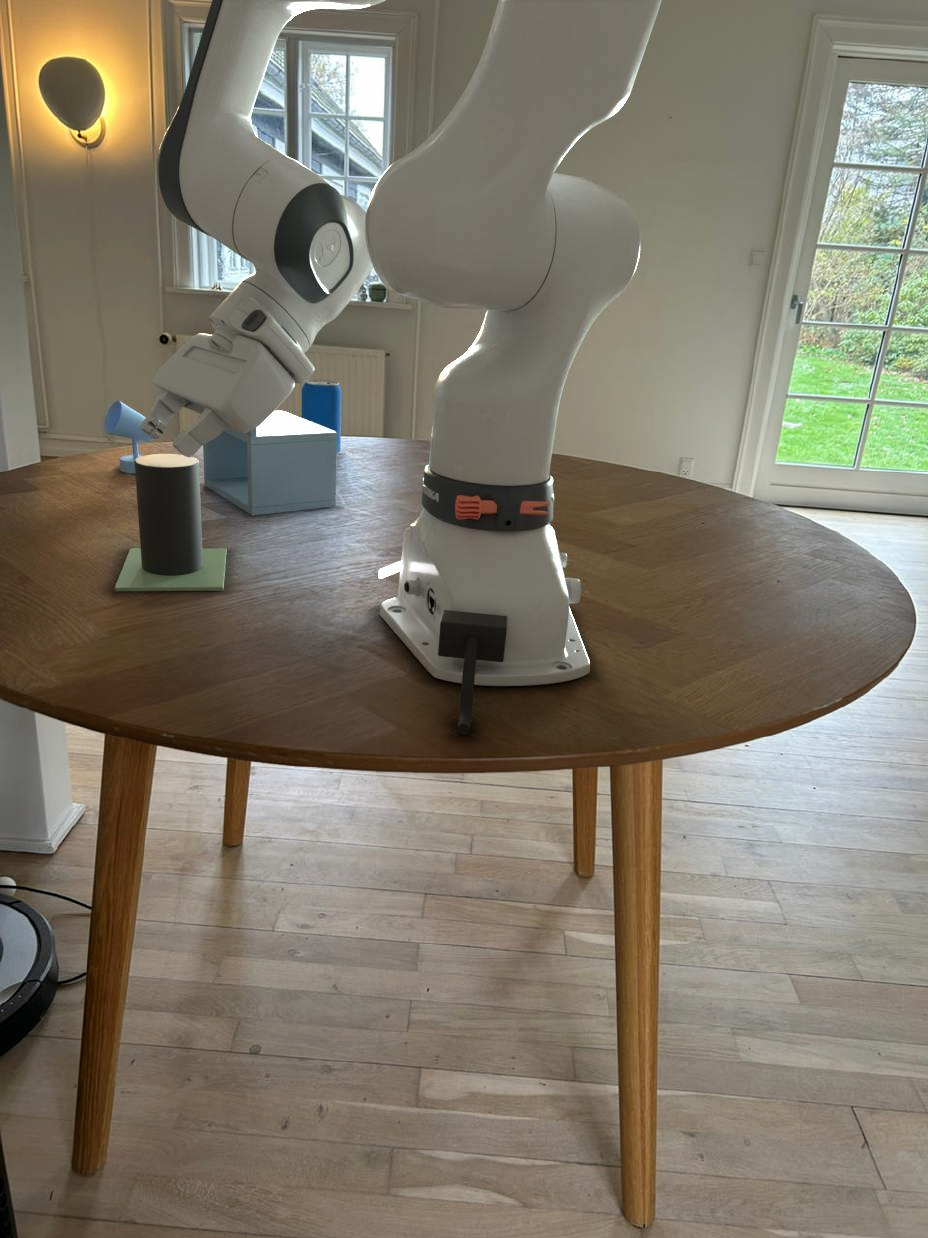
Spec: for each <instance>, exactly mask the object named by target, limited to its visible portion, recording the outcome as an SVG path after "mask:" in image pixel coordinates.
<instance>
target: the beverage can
mask: <svg viewBox="0 0 928 1238" xmlns="http://www.w3.org/2000/svg"><path fill="white" fill-rule="evenodd" d="M342 391H343V390H342V388H341V387H340V382H339V381H337V380H331V379H323V378H314V379H313V378H308V379H307V380H306V381H305V382H304V383H303V385H302V387H301V413H300V415H301V417H300V418H302V419H305V420H307V421H310V422H312V423H315V424H317V425H320V426H322V427H325V428H328V429H330V430H333V431H335V432H337V454H339V453H340V452H341V441H342V439H341V438H342V437H341V436H342V435H341V434H342V396H343V395H342V393H343V392H342Z"/></svg>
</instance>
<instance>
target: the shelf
mask: <svg viewBox="0 0 928 1238" xmlns="http://www.w3.org/2000/svg"><path fill="white" fill-rule="evenodd" d="M202 452H203V481H204V482H203V483H204V486H205V488H208V489H209V490H211V491H213V492H214V493H216V494H217V495H219V496H220V497H221V498H223V499H225V500H227V501H228V502H229V503H232V504H233V505H235V506H236V507H238V508H239V509H241V510H243V511H244V512H246V513H247V514H249V515H250V516H253V517H254V516H261V515H271V514H281V513H289V512H297V511H309V510H316V509H325V508H334V507H336V506H337V464H338V463H337V461H338V459H337V457H338V455H337V432H335V431H333V430H330V429H328V428H325V427H322V426H320V425H317V424H315V423H312V422H310V421H307V420H305V419H302V418H301V417H299V416H297V415H295V414H292V413H289V412H287V411H284V410H275V411H274V412H273V413H272V414H271V415H270V416H269V417H268V418H267V419H266V420H265V421H264V422H263V423H262V424H261V425H260V426H258V427H257V428H255V429H253V430H252V431H250V432H248V433H245V434H244V433H241V432H239V431H236V430H234V429H232V428H229V427H226V429H225V430H224V431H223V432H222V433H221V434H220V435H219V436H217V437H216V438H214V439H213V440H211V441H209V442H208V443H206V444H205V445H202Z"/></svg>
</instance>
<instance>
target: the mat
mask: <svg viewBox="0 0 928 1238" xmlns="http://www.w3.org/2000/svg"><path fill="white" fill-rule="evenodd" d="M202 548H203V567H202V568H201V569H200V570H198V571H196V572H193V573H189V574H184V575H172V576H169V575H157V574H152V573H149V572H147V571H145V570H144V569H143V568H142V560H141V547H130V549H129V551H128V553H127V555H126V559H125V561H124V562H123V566H122V568H121V571H120V573H119V575H118V578H117V580H116V583H115V586H114V592H212V591H213V592H217V591H218V592H219V591H220V592H221V591H224V588H225V587H224V586H225V585H224V584H225V574H226V561H227V548H225V547H223V548H220V547H216V548H215V547H214V548H213V547H212V548H210V547H209V548H208V547H202Z"/></svg>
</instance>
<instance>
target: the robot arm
mask: <svg viewBox="0 0 928 1238" xmlns="http://www.w3.org/2000/svg"><path fill="white" fill-rule="evenodd" d="M386 1H387V0H211V3H210V6H209V9H208V13H207V16H206V19H205V23H204V26H203V30H202V33H201V36H200V39H199V43H198V46H197V50H196V53H195V55H194V60H193V63H192V66H191V69H190V72H189V76H188V79H187V82H186V86H185V89H184V92H183V95H182V98H181V101H180V103H179V106H178V108H177V110H176V112H175V114H174V116H173V117H172V119H171V122H170V123H169V126H168V127H167V129H166V131H165V133H164V135H163V138H162V140H161V142H160V145H159V148H158V153H157V161H156V171H157V172H156V173H157V179H158V180H157V181H158V186H159V190H160V194H161V196H162V200H163V202H164V205H165V206H166V208H167V209H168V211H169V212H170V214H171V215H173V217H175V218H176V219H177V220H179V221H180V222H182V223H184V224H186V225H188V226H189V227H192V228H193V229H195V230H196V231H199V232H201V233H202V234H204V235H205V236H209V237H211V238H213V239H214V240H216V241H217V242H218V243H220V244H222V245H223V246H225V247H226V248H227V249H229V250H230V251H232V252H234V253H235V254H236V255H238V256H239V257H241V258H242V259H243V260H246V261H247V262H249V263H252V265H253V267H254V270H255V272H253V273H251V274H250V275H248V276H246V277H244V278H243V279H241V281H240V282H239V283H238V284H237V285H236V287H234V288H233V290H231V292H230V293H228V295H227V296H226V298H224V300H222V302H221V303H220V304H219V305H218V306H217V308H215V310H214V311H213V312H211V314H210V315H209V318H208V320H209V324H210V325H211V327H212V329H213V330H214V331H213V333H212V334H209V333H203V332H200V333H197V334H195V335H194V336H191V337H190V338H189V339H188V340H187V341H186V342H185V343H184V344H183V345H182V346H180V347H179V348H178V350H177V351H176V352H175V353H173V354H172V355H171V356H170V357H169V358H168V359H167V360H166V361H165V362H164V363H163V364H162V365H161V366H160V368H159V369H158V370H157V371H156V373H155V374H154V375H153V378H152V381H151V382H152V385H153V386H154V387H155V388H156V389H157V390H158V391H159V392H160V394H159V395H158V396H157V397H156V398H155V401H154V403H153V405H152V407H151V409H150V411H149V413H148V415H146V418H145V419H144V421H143V422H142V423H141V424H140V428H141V430H143V431H144V432H145V433H146V434H147V435H148V436H150V437H152V440H153V439H155V440H157V439H159V438H160V437H161V436H162V435H163V434H164V433H165V432H166V431H167V430H168V427H167V425H168V424H169V422H170V421H171V420H172V418H173V416H174V415H178V414H179V412H180V411H181V410H182V409H183V408H184V409H185V410H189V411H190V412H193V413H195V414H196V415H198V418H199V419H198V420H196V421H195V422H194V423H192V425H191V426H190V427H189V428H187V429H186V430H185V429H182V430H181V431H180V432H179V433H178V435H177V437H175V438H174V439H173V440H172V443H171V444H172V447H173V448H174V449H176V450H177V451H178V452H179V453H180V455H184V456H186V457H194V455H195V454H197V452H198V451H199V450H200V449H201V448H202V447H203V445H205V444H206V443H208V442H209V441H211V440H213V439H214V438H216V437H217V436H219V435H220V434H221V433H222V432H223V431H224V430H225V429H226V427H229V428H232V429H234V430H236V431H239V432H241V433H244V434H245V433H248V432H250V431H252V430H253V429H255V428H257V427H258V426H260V425H261V424H262V423H263V422H264V421H265V420H266V419H267V418H268V417H269V416H270V415H271V414H272V413H273V412H274V411H277V409H278V408H279V407H280V406H281V405H282V404H283V402H284V401H285V400H287V398H288V397H289V396H290V395H291V394H292V392H293V391H294V388H295V386H296V384H300V385H301V384H305V381H306V380H308V379H310V378H311V376H312V375H313V374H314V372H315V370H316V369H315V366H314V364H313V363H312V362H311V361H310V359H309V358H308V357H307V356H306V353H307V352H308V351H309V349H310V348H311V347H312V345H313V344H314V341H315V339H316V336H317V335H318V333H319V332H320V331H321V330H322V328H324V327H325V325H327V324H329V323H331V322H332V321H334V320H335V319H336V318H337V317H338V316H340V314H341V313H342V312H343V310H344V309H345V308H346V307H347V306H348V305H349V303H350V302H351V301H352V300H353V298H354V297H355V295H357V293H358V292H359V291H360V289H361V287H362V286H363V284H364V283H365V282H366V280H367V278H368V277H369V275H370V274H371V273H372V270H373V269H374V271H375V273H376V275H377V277H378V279H379V280H380V282H381V283H382V284H383V285H384V286H385V287H386V288H387V289H388V290H389V291H391V292H392V293H395V294H397V295H399V296H403V297H405V298H408V299H412V300H415V301H418V302H420V303H423V304H428V305H431V306H435V307H438V308H443V309H459V310H461V309H462V310H484V311H486V312H485V316H484V320H483V323H482V325H481V328H480V331H479V333H478V334H477V336H476V338H475V340H474V342H473V343H472V345H471V346H470V347H469V348H468V350H467V351H466V352H465V353H464V354H463V355H461V356H460V357H458V358H456V360H454V361H452V362H451V363H450V364H448V365H447V366H445V368H444V369H443V370H442V371H441V373H440V374H439V376H438V378H437V380H436V382H435V386H434V389H433V392H432V393H433V396H432V411H431V425H430V426H431V427H430V430H431V431H430V443H429V459H428V464H427V465H425V467H424V468H423V477H422V479H421V487H420V488H421V505H422V507H423V509H422V511H421V513H420V514H419V515H418V516H417V518H416V519H415V520H414V521H413V522H412V523H411V524H410V525H408V527H407V528H406V529H404V532H403V538H402V547H401V548H402V549H401V558H400V560H399V561H396V562H394V563H392V564H389V565H386V566H384V567H381V568H380V569H378V579H379V580H380V579H381V580H382V579H384V578H386V577H387V578H388V577H389V576H391V575H395V574H397V573H399V579H398V580H399V581H398V589H397V596H396V597H393V598H390V599H386V600H385V601H382V602H381V604H380V609H379V615H380V617H381V618H382V619H383V620H384V622H385V623H386V625H388V626H389V627H390V629H391V630H392V631H393V632H394V634H396V636H397V637H398V638H399V640H401V641H402V643H403V644H404V645H405V646H406V647H407V649H409V651H410V652H411V653H412V654H413V656H414V657H415V658H416V659H417V660H418V661H419V663H420V664H421V665H422V666H423V668H424V669H426V671H427V672H428V673H429V674H430V675H431V676H432V677H434V678H435V679H438V680H442V681H445V682H446V681H447V682H451V683H456V684H461V687H460V699H459V710H458V720H457V727H456V730H457V733H459V734H460V735H462V736H463V735H464V736H465V735H468V734H469V733H470V732H471V724H472V713H473V701H474V690H475V686H482V687H483V686H485V687H523V686H524V687H525V686H541V685H550V684H557V683H558V684H559V683H565V682H568V681H569V682H570V681H573V680H577V679H580V678H582V677H584V676H587V675H588V674H590V671H591V661H590V658H589V656H588V653H587V650H586V648H585V644H584V643H583V640H582V638H581V635H580V631H579V629H578V626H577V624H576V621H575V618H574V616H573V614H572V611H571V608H570V604H573V605H576V604H579V602H580V601H581V596H582V582H581V579H579V578H577V577H565V572H564V568H567V564H568V555H567V553H566V552H560V550H559V545H558V541H557V538H556V530H555V529H554V528H553V526H551V523H552V522H553V520H554V504H555V492H554V478H553V477H552V476H551V474H550V471H551V464H552V457H553V449H554V441H555V434H556V428H557V422H558V415H559V410H560V403H561V400H562V399H561V398H562V394H563V391H564V387H565V385H566V380H567V378H568V375H569V373H570V372H569V371H570V369H571V367H572V365H573V362H574V360H575V357H576V355H577V353H578V351H579V349H580V347H581V345H582V343H583V341H584V339H585V337H587V334H588V333H589V330H591V327H592V325H593V324H594V322H595V321H596V320H597V318H598V317H599V316H600V315H601V313H603V311H604V310H605V309H606V308H607V307H608V306H609V305H611V303H612V302H614V301H615V300H616V299H617V298H619V297H620V296H621V294H623V292H624V291H625V290H626V288H627V287H628V286H629V284H630V283H631V280H632V279H633V276H634V274H635V273H636V270H637V266H638V262H639V259H640V253H641V252H640V251H641V232H640V231H641V230H640V225H639V222H638V219H637V216H636V213H635V212H634V210H633V208H632V206H631V205H630V204H629V203H628V202H627V200H625V199H624V198H623V197H622V196H619V195H617V194H616V193H614V192H612V191H611V190H609V189H607V188H605V187H603V186H602V185H600V184H597V183H595V182H593V181H591V180H589V179H587V178H585V177H582V176H576V175H570V174H564V173H559V172H556V170H557V169H558V167H559V165H560V164H561V162H562V161H563V159H564V158H565V156H566V155H567V154H568V153H569V151H570V150H571V149H572V147H573V146H574V145H575V144H576V143H577V142H578V141H579V139H580V138H582V136H584V135H585V134H586V133H588V131H590V130H592V129H593V128H595V127H596V126H598V125H600V124H602V123H603V122H606V121H607V120H609V119H611V118H612V117H613V116H615V115H616V114H617V113H618V112H619V111H620V110H621V109H622V107H623V106H624V104H625V103H626V102H627V100H628V98H629V97H630V95H631V93H632V90H633V87H634V84H635V82H636V79H637V75H638V72H639V70H640V66H641V64H642V60H643V58H644V54H645V52H646V49H647V45H648V43H649V40H650V37H651V34H652V31H653V28H654V25H655V22H656V19H657V16H658V13H659V10H660V7H661V4H662V3H663V0H498V2H497V6H496V9H495V13H494V16H493V19H492V23H491V27H490V31H489V34H488V37H487V40H486V42H485V45H484V48H483V51H482V54H481V56H480V59H479V62H478V64H477V66H476V68H475V70H474V72H473V74H472V76H471V78H470V80H469V82H468V83H467V85H466V87H465V89H464V90H463V92H462V94H461V96H460V97H459V98H458V101H457V102H456V103H455V105H454V107H452V109H451V110H450V112H449V113H448V115H447V116H446V118H445V119H444V120H443V121H442V122H441V123H440V125H439V126H438V127H437V129H435V130H434V132H432V133H431V135H430V136H429V137H428V138H427V139H426V140H424V141H423V142H422V143H421V144H420V145H419V146H418V147H416V148H415V149H414V150H412V151H411V152H408V154H406V155H405V156H403V157H401V158H399V159H397V160H396V161H394V162H393V163H392V164H390V166H389V167H387V168H386V169H385V171H384V172H383V173H382V175H381V176H380V177H379V179H378V181H377V182H376V184H375V185H374V188H373V189H372V191H371V195H370V197H369V201H368V203H367V207H366V210H364V208H363V207H362V206H361V205H360V204H358V202H357V201H355V200H353V199H351V198H350V197H349V196H347V195H344V194H341V193H340V192H339V191H338V189H336V188H335V187H334V186H333V185H332V184H330V182H329V181H327V180H326V179H325V178H323V177H322V176H320V175H319V174H317V173H316V172H315V171H313V170H312V169H310V168H309V167H307V166H306V165H304V164H302V163H300V162H299V161H298V160H296V159H294V158H292V157H290V156H287V155H286V154H285V153H283V152H281V151H280V150H279V149H277V148H276V147H273V146H272V145H271V144H269V143H267V142H266V141H264V140H262V138H260V137H258V135H257V133H256V132H255V130H254V127H253V124H252V123H253V122H252V113H253V109H254V106H255V103H256V100H257V97H258V95H259V91H260V88H261V86H262V83H263V80H264V78H265V74H266V72H267V69H268V66H269V63H270V60H271V57H272V55H273V52H274V49H275V47H276V43H277V40H278V38H279V37H280V35H281V33H282V31H283V29H284V27H285V26H286V25H287V24H288V23H289V21H291V20H292V19H294V17H295V16H297V15H299V14H301V13H303V12H306V11H310V10H319V9H334V10H335V9H336V10H355V9H356V10H358V9H363V8H364V9H365V8H370V7H373V6H376V5H379V4H382V3H385V2H386Z"/></svg>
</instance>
